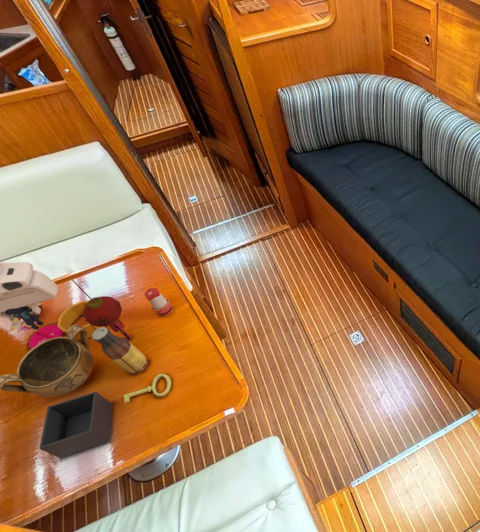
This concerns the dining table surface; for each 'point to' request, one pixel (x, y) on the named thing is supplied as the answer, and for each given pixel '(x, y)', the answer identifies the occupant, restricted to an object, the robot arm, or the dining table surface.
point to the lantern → (104, 313)
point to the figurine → (40, 332)
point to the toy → (158, 302)
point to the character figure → (24, 317)
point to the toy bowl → (72, 315)
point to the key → (151, 388)
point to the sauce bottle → (120, 351)
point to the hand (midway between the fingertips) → (26, 315)
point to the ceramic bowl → (53, 366)
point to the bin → (76, 425)
